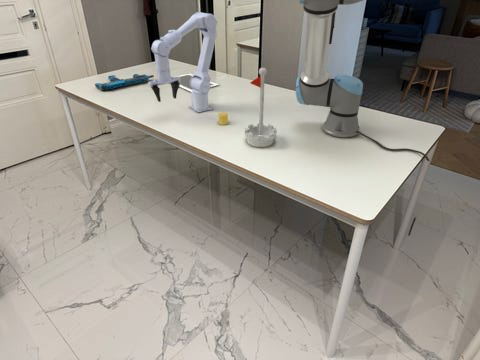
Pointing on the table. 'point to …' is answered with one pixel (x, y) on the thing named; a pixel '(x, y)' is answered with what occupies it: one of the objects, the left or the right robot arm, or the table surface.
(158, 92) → the left robot arm
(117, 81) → the submachine gun
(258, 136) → the flag stand
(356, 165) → the table surface
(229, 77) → the table surface
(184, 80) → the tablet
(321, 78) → the right robot arm
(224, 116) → the tin
